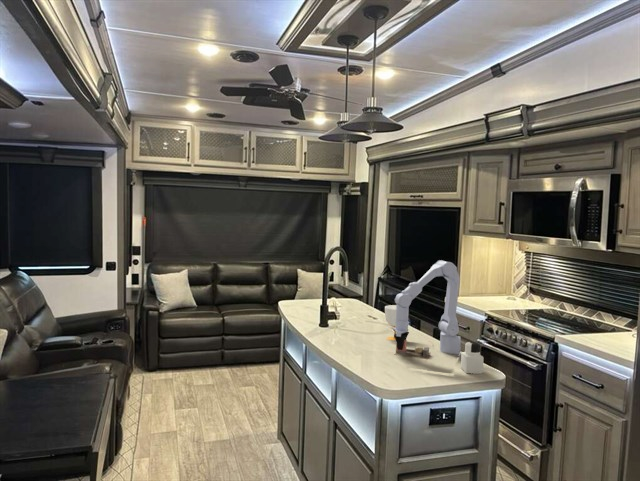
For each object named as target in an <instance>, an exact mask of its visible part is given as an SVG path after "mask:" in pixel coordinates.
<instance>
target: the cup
mask: <svg viewBox="0 0 640 481" xmlns="http://www.w3.org/2000/svg"><path fill="white" fill-rule="evenodd" d="M384 315H385V317H384V318H385V321H386V322H387V325H389V326H391V327H392V328H396V304H392V305H391V304H388V305H385V306H384ZM394 334H396V331H395V330H394V331H393V335H394ZM385 340H388V341H389V340H390V341H396V339H395V337H394V336H388V337H386V339H385Z"/></svg>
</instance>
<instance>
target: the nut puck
mask: <svg viewBox="0 0 640 481" xmlns="http://www.w3.org/2000/svg"><path fill="white" fill-rule="evenodd" d="M423 349H424V347H423V346H415V348H414V350H415V354H422V355H423Z"/></svg>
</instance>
